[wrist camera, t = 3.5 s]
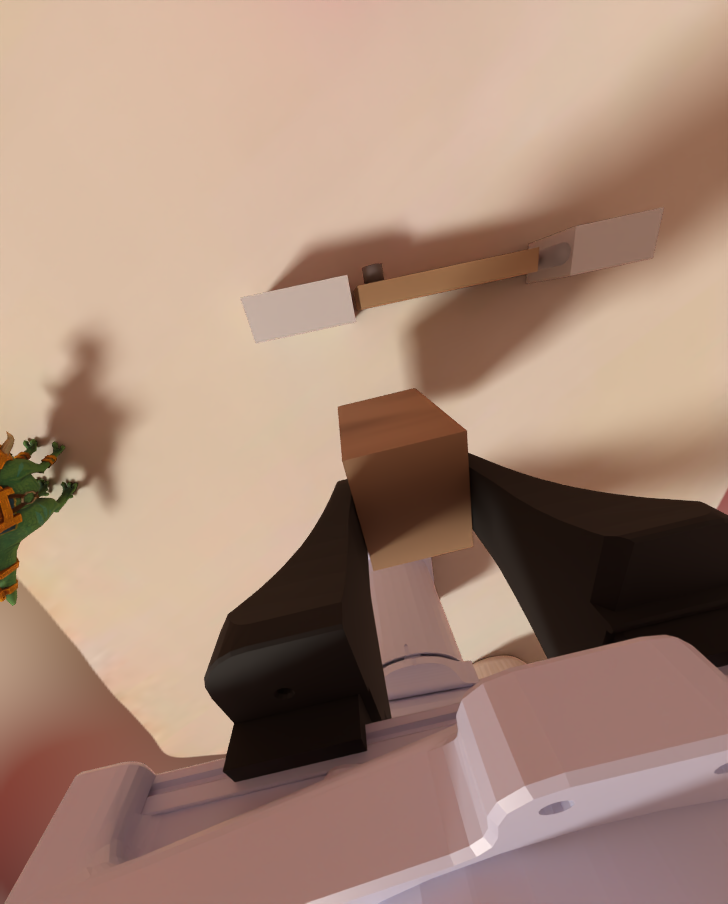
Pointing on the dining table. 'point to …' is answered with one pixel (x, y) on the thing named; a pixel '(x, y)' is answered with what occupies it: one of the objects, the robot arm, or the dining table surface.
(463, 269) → the door
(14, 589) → the figurine
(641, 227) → the wall frame
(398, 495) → the block
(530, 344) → the dining table surface
